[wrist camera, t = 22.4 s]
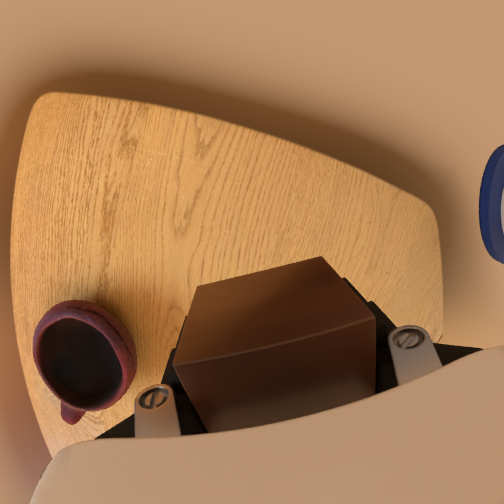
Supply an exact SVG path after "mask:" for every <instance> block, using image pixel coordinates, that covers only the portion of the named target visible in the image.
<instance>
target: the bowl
mask: <svg viewBox="0 0 504 504" xmlns="http://www.w3.org/2000/svg"><path fill="white" fill-rule="evenodd" d="M33 357H34V361H35V364H36V367H37V369H38V372H39V374H40V376H41V377H42V379H43V381H44V382H45V384H46V385H47V386H48V388H49V389H50V390H51V391H52V393H53V394H54V395H55V396H56V397H57V398H58V399H60V400H61V416H62V419H63V420H64V421H65V422H67V423H68V424H71V425H74V424H76V423H77V422H78V421H79V420H80V419H81V418H82V416H83V415H84V414H85V412H86V411H99V410H102V409H106V408H109V407H110V406H112V405H113V404H115V403H116V402H117V401H119V400H120V399H121V398H122V396H123V395H124V394H125V393H126V392H127V390H128V388H129V387H130V385H131V383H132V381H133V379H134V377H135V374H136V370H137V354H136V349H135V346H134V343H133V340H132V338H131V336H130V334H129V332H128V331H127V329H126V328H125V326H124V325H123V324H122V323H121V322H120V321H119V320H118V319H117V318H116V317H115V316H114V315H112V314H111V313H110V312H109V311H107V310H106V309H104V308H103V307H101V306H99V305H96V304H94V303H91V302H88V301H83V300H70V301H65V302H61V303H59V304H57V305H55V306H54V307H52V308H51V309H50V310H49V311H47V313H45V315H44V316H43V318H42V319H41V320H40V322H39V323H38V325H37V327H36V329H35V333H34V337H33Z"/></svg>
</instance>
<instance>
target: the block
mask: <svg viewBox="0 0 504 504" xmlns="http://www.w3.org/2000/svg"><path fill="white" fill-rule="evenodd" d="M173 367H174V369H175V371H176V373H177V375H178V377H179V379H180V381H181V383H182V385H183V387H184V389H185V391H186V393H187V395H188V397H189V399H190V401H191V403H192V404H193V406H194V408H195V410H196V412H197V414H198V415H199V417H200V419H201V421H202V422H203V424H204V426H205V428H206V429H207V431H208V433H216V432H224V431H231V430H238V429H244V428H250V427H256V426H261V425H267V424H272V423H277V422H281V421H286V420H290V419H295V418H299V417H303V416H307V415H311V414H315V413H319V412H322V411H326V410H329V409H333V408H336V407H340V406H343V405H346V404H349V403H352V402H355V401H358V400H361V399H364V398H367V397H370V396H373V395H375V388H376V321H375V316H374V315H373V313H372V312H371V311H370V310H369V309H368V308H367V306H366V305H365V304H364V303H363V302H362V301H361V300H360V298H359V297H358V296H357V295H356V294H355V293H354V292H353V290H352V289H351V288H350V287H349V286H348V285H347V284H346V283H345V281H344V280H343V279H342V278H341V277H340V276H339V275H338V274H337V273H336V271H335V270H334V269H333V268H332V267H331V266H330V265H329V264H328V263H327V261H326V260H325V259H324V258H323V257H322V256H320V257H316V258H312V259H308V260H304V261H300V262H296V263H292V264H288V265H284V266H280V267H276V268H272V269H268V270H263V271H259V272H255V273H251V274H247V275H243V276H238V277H234V278H230V279H226V280H222V281H217V282H213V283H209V284H204V285H200V286H197V288H196V291H195V294H194V297H193V300H192V303H191V306H190V309H189V313H188V316H187V319H186V322H185V325H184V328H183V331H182V335H181V338H180V341H179V344H178V348H177V351H176V354H175V357H174V361H173Z"/></svg>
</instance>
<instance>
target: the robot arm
mask: <svg viewBox="0 0 504 504" xmlns="http://www.w3.org/2000/svg"><path fill="white" fill-rule="evenodd" d="M501 224H502V229H503V233H504V188H503V193H502V199H501ZM342 279H343V280H344V281H345V283H346V284H347V285H348V286H349V287H350V288H351V289H352V290H353V292H354V293H355V294H356V295H357V296H358V297H359V298H360V300H361V301H362V302H363V303H364V304H365V305H366V306H367V308H368V309H369V310H370V311H371V312H372V313H373V315H374V316H375V321H376V388H375V395H373V396H370V397H367V398H364V399H361V400H358V401H355V402H352V403H349V404H346V405H343V406H340V407H336V408H333V409H329V410H326V411H322V412H319V413H315V414H311V415H307V416H303V417H299V418H295V419H290V420H286V421H281V422H277V423H272V424H267V425H261V426H256V427H250V428H244V429H238V430H231V431H224V432H216V433H208V431H207V429H206V428H205V426H204V424H203V422H202V421H201V419H200V417H199V415H198V414H197V412H196V410H195V408H194V406H193V404H192V403H191V401H190V399H189V397H188V395H187V393H186V391H185V389H184V387H183V385H182V383H181V381H180V379H179V377H178V375H177V373H176V371H175V369H174V367H173V361H174V357H175V354H176V351H177V348H178V344H179V341H180V338H181V335H182V331H183V328H184V325H185V322H186V319H187V316H186V317H185V320H184V323H183V326H182V329H181V332H180V336H179V339H178V342H177V345H176V348H173V349H172V351H171V354H170V357H169V360H168V363H167V366H166V369H165V372H164V375H163V378H162V381H161V384H156V385H152V386H149V387H147V388H145V389H144V390H142V391H141V392H140V393H139V394H138V395H137V397H136V398H135V413H134V414H133V415H131V416H130V417H128V418H127V419H125V420H123V421H122V422H120V423H119V424H117V425H116V426H114V427H112V428H111V429H109V430H108V431H106V432H104V433H103V434H101V435H100V436H98V437H97V438H95V439H94V440H88V441H84V442H80V443H76V444H73V445H70V446H68V447H65V448H63V449H62V450H60V451H59V452H58V453H57V454H56V455H55V456H54V458H53V459H52V461H51V462H50V463H49V465H48V467H46V468H45V469H44V470H43V471H42V473H41V475H40V481H39V483H38V485H37V488H36V490H35V492H34V495H33V497H32V499H31V501H30V504H504V346H497V347H493V348H487V349H481V348H474V347H463V346H454V345H445V344H437V343H432V341H431V338H430V336H429V334H428V332H427V331H426V330H425V329H423V328H422V327H419V326H414V325H407V326H402V327H398V328H397V327H396V326H395V325H394V324H393V323H392V321H391V320H390V319H389V318H388V317H387V316H386V315H385V314H384V313H383V312H382V311H381V309H380V308H379V307H378V306H377V305H376V304H375V303H374V302H373V301H369V302H367V301H366V300H365V299H364V297H363V296H362V295H361V294H360V293H359V292H358V291H357V290H356V289H355V288H354V286H353V285H352V284H351V283H350V282H349V281H348V280H347V279H346V278H342Z"/></svg>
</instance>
